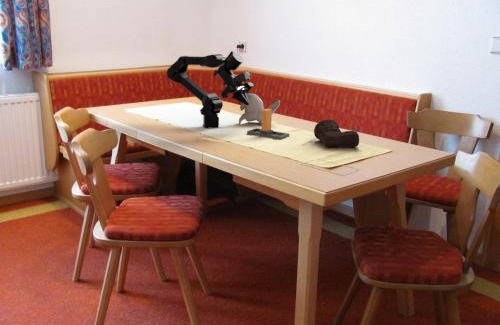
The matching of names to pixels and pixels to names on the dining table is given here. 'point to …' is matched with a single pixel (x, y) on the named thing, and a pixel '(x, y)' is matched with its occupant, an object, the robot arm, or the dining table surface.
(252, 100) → the toy
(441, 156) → the dining table surface
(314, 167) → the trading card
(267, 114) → the breaker toggle
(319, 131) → the dark brown bent piece
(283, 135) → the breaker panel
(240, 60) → the robot arm
